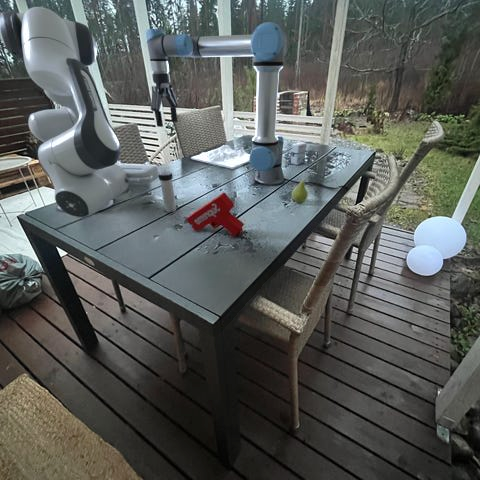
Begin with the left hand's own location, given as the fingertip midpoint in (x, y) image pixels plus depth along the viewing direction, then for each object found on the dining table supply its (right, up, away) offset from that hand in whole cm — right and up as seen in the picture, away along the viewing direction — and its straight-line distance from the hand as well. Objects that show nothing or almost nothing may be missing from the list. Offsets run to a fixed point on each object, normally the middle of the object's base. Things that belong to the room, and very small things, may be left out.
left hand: (134, 164), depth 84 cm
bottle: (+3, -11, +32) cm, 33 cm away
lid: (+3, +3, +23) cm, 23 cm away
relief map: (+23, +30, +94) cm, 102 cm away
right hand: (-2, +33, +48) cm, 58 cm away
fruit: (+60, -6, +37) cm, 70 cm away
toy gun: (+24, -20, +16) cm, 35 cm away
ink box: (+69, +25, +86) cm, 113 cm away
